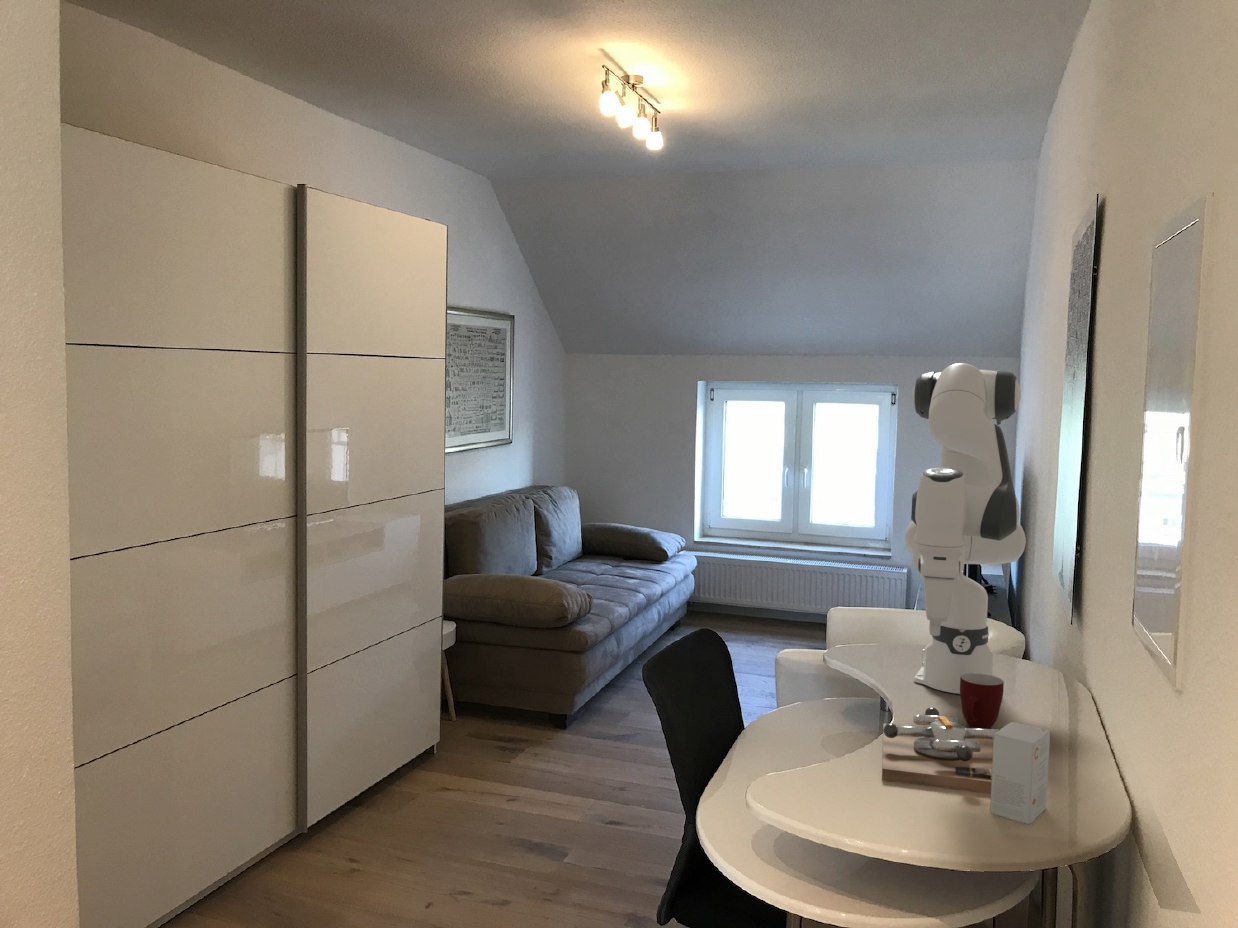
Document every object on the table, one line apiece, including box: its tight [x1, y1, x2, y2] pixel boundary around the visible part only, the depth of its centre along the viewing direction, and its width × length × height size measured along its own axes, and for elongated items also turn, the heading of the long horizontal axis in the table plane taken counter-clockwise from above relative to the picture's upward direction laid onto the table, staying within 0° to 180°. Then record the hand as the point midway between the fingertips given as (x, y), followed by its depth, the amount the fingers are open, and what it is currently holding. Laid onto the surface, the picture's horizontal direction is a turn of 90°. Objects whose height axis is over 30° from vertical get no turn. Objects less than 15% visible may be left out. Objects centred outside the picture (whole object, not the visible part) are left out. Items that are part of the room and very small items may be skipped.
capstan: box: [884, 706, 1004, 761], centre depth 177 cm, size 23×23×5 cm
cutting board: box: [881, 723, 993, 794], centre depth 178 cm, size 24×22×4 cm
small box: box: [989, 721, 1051, 825], centre depth 157 cm, size 8×6×13 cm
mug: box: [959, 673, 1005, 729], centre depth 195 cm, size 11×8×10 cm
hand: (934, 633), depth 180 cm, fingers closed
